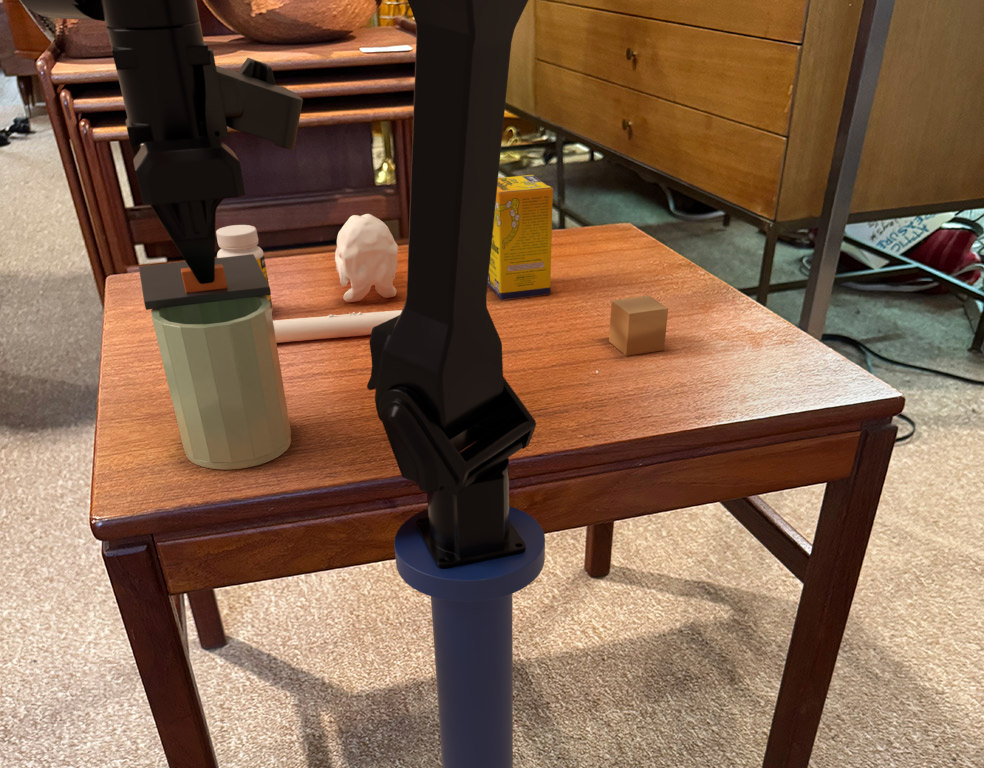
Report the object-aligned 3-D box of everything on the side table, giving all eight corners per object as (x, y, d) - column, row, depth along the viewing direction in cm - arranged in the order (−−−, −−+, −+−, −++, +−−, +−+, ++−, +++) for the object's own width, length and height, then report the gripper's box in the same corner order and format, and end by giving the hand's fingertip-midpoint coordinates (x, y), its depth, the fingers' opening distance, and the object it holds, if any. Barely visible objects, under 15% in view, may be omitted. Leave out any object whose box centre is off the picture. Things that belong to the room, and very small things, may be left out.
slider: (271, 295, 69) (266, 265, 68) (146, 310, 67) (138, 280, 66) (255, 261, 76) (250, 234, 75) (140, 274, 74) (133, 246, 73)
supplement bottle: (278, 317, 98) (265, 232, 93) (234, 324, 97) (217, 238, 91) (266, 303, 102) (253, 221, 96) (223, 310, 100) (207, 227, 95)
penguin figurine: (337, 221, 94) (316, 206, 104) (348, 309, 99) (327, 287, 108) (398, 215, 96) (372, 200, 105) (406, 302, 100) (380, 280, 110)
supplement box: (483, 284, 105) (481, 178, 99) (533, 279, 107) (534, 173, 100) (499, 301, 101) (498, 191, 94) (551, 295, 102) (554, 186, 96)
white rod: (441, 324, 96) (440, 301, 94) (444, 331, 94) (443, 308, 93) (263, 339, 93) (259, 315, 92) (263, 347, 92) (259, 323, 90)
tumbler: (299, 459, 73) (277, 317, 66) (189, 477, 71) (154, 333, 64) (282, 416, 79) (260, 282, 72) (181, 431, 77) (148, 296, 70)
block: (664, 350, 89) (668, 308, 87) (626, 356, 88) (629, 313, 86) (645, 336, 92) (649, 295, 90) (608, 341, 91) (611, 300, 89)
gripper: (307, 32, 54) (339, 306, 64) (261, 6, 68) (294, 235, 77) (105, 43, 51) (171, 328, 61) (100, 14, 65) (155, 250, 75)
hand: (206, 280), depth 69 cm, fingers closed, pressing on slider
